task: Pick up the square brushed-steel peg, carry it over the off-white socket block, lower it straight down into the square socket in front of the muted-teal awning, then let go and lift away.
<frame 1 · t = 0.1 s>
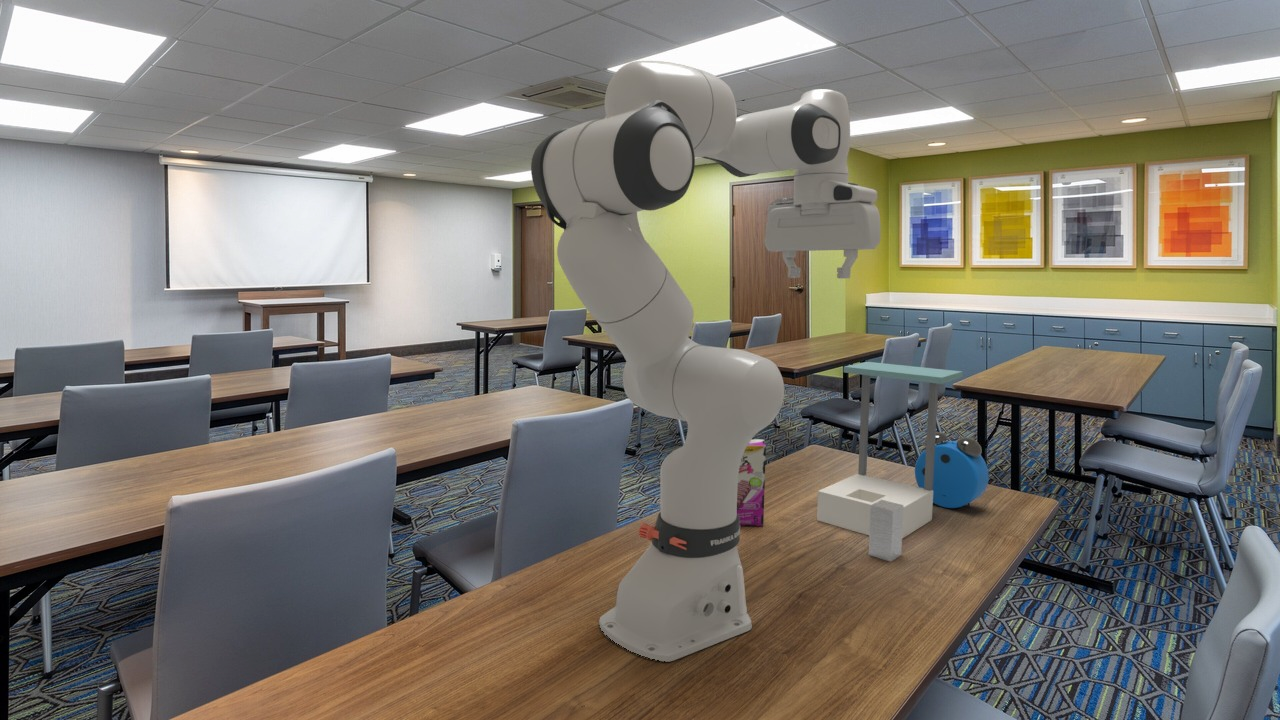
hand: (818, 278, 116), 48 cm above the table, fingers open, 8 cm apart
socket block: (874, 520, 135), on the table
steel peg: (884, 554, 119), on the table
candy bar box: (735, 522, 135), on the table
alarm clock: (948, 505, 143), on the table
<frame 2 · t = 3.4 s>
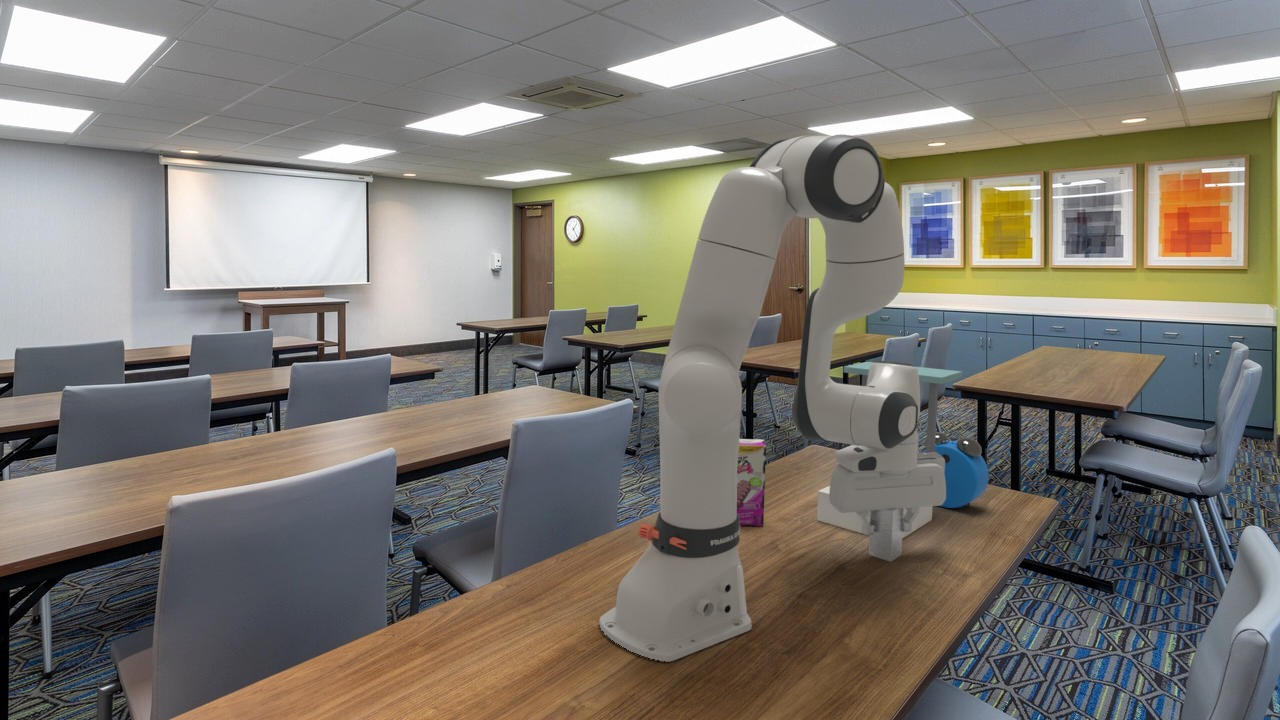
hand: (886, 532, 118), 4 cm above the table, fingers closed on steel peg, 6 cm apart
steel peg: (884, 554, 119), on the table, touching gripper
everything else where it was.
when the fingers open (7 cm above the table, at t = 10.0 s): steel peg drops 2 cm, resting on socket block.
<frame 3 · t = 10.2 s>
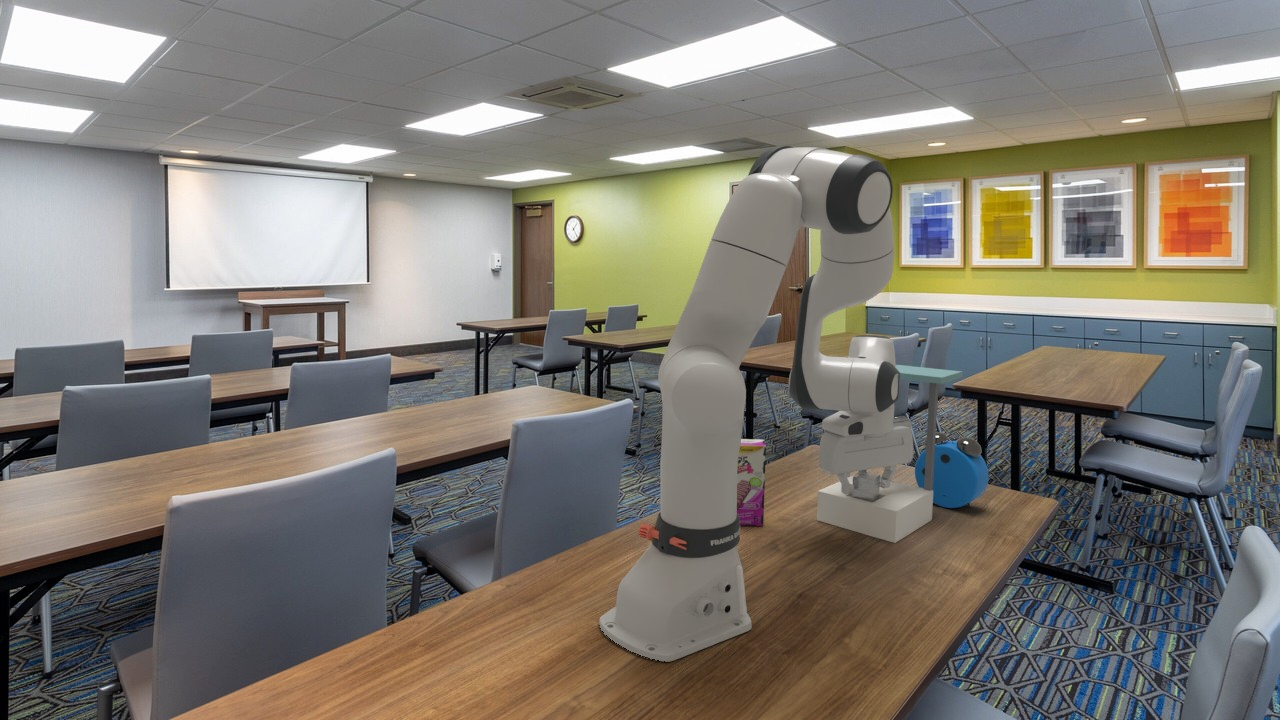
hand: (865, 490, 131), 7 cm above the table, fingers open, 8 cm apart
steel peg: (864, 520, 132), point 1 cm above the table, touching socket block
everything else where it was.
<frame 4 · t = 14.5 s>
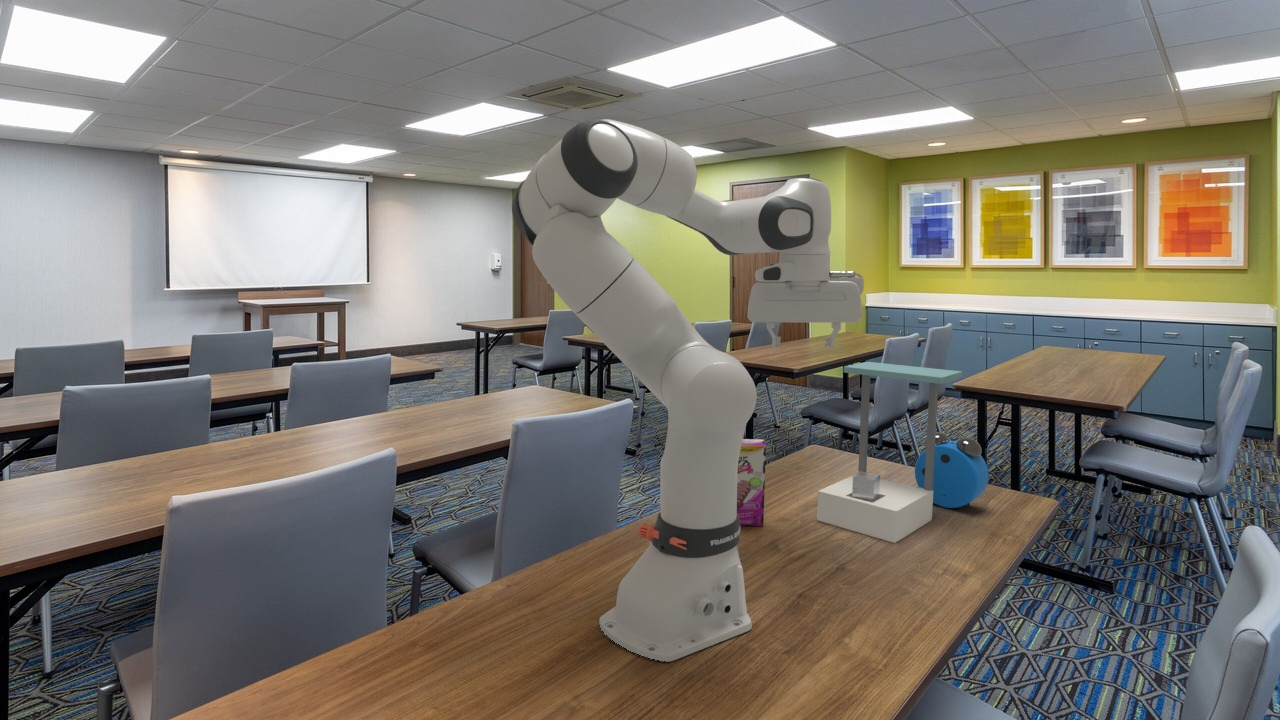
hand: (802, 347, 125), 35 cm above the table, fingers open, 8 cm apart
nothing on the table moved.
at the end: steel peg 0.0 cm from the target spot on the socket block, point 1.0 cm above the socket block's base; steel peg tilted 0°; the gripper is holding nothing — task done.
